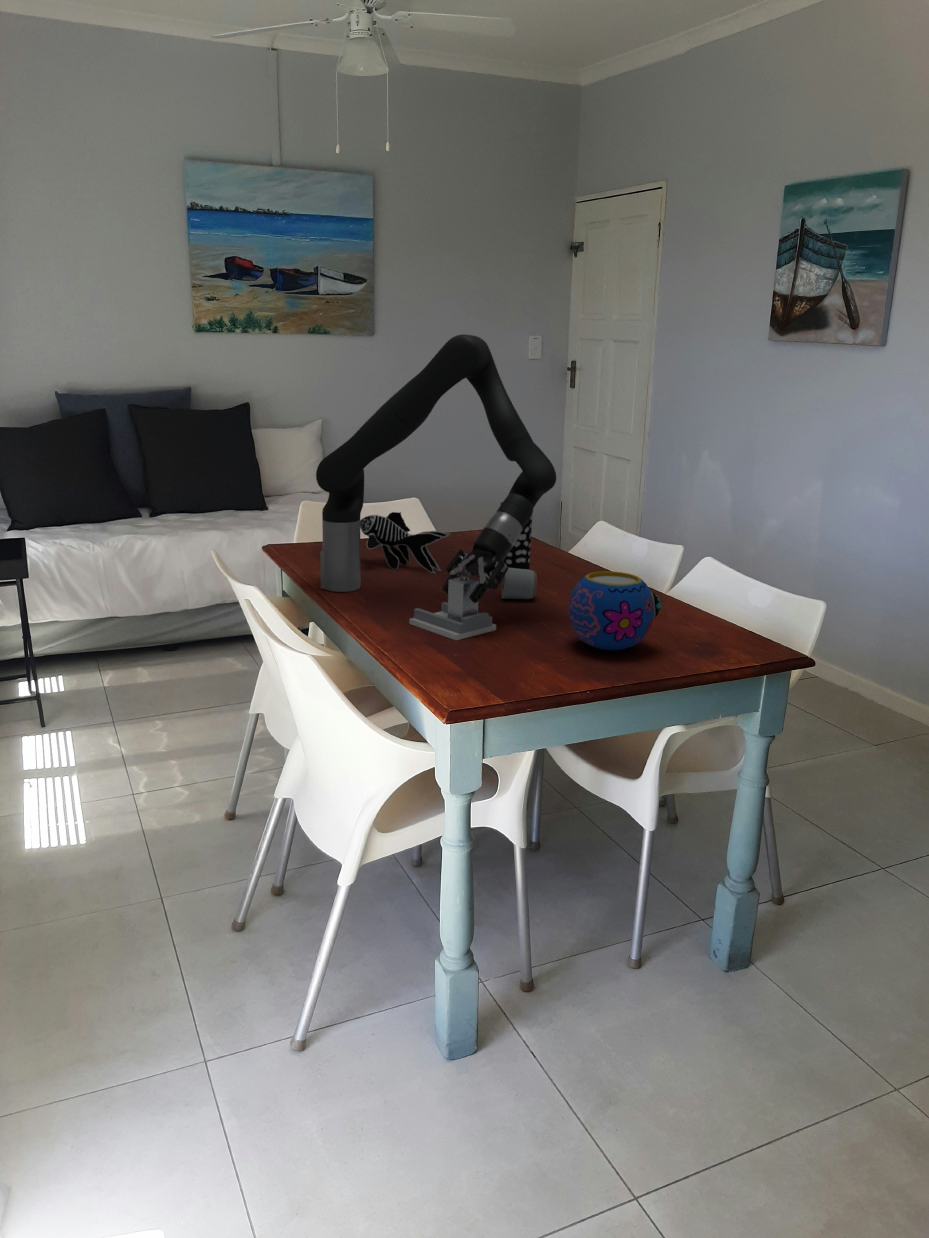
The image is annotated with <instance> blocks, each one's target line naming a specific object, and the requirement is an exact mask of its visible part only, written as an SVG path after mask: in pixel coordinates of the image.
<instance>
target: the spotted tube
mask: <svg viewBox="0 0 929 1238" xmlns="http://www.w3.org/2000/svg"><path fill="white" fill-rule="evenodd" d="M502 503H503V501H502V502H500V505H501V504H502ZM532 528H533V515H532V516H531V517H530V519H529V521H528V522H527V524H526V525H525V527H524V528H523V530H522V531H521V533H520V535H519V537H518V539H517V541H516V542H515V544H514V545H513V547H512V548H511V550H510V551H509V553H508V554H507V556H506V557H505V559H504V560H503V562H504V563H505V564H506V565H507V567H508V568H517V569H527V570H531V568H530V567H531V550H532V549H531V546H532V532H533V531H532Z"/></svg>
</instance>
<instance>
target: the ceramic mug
mask: <svg viewBox="0 0 929 1238" xmlns="http://www.w3.org/2000/svg"><path fill="white" fill-rule="evenodd" d="M537 575H538V574H537V571H534V570H531V569H530V570H527V569H517V568H508V571H507V572H506V574H505V576H504V577H503V579H502V581H501V598H502V599H503V600H532V599H534V598H536V594H537V588H538V587H537V586H538V577H537Z"/></svg>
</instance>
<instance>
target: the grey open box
mask: <svg viewBox="0 0 929 1238" xmlns="http://www.w3.org/2000/svg"><path fill="white" fill-rule="evenodd" d="M440 604H441V606H440V607H441V610H440V611H437V612H434V613H433V612H431V611H428V610H425V609H422V608H419V607H418V608H417V607H416V608H414V609H413V617H412V618H409V620H408V621H409V625H411V626H414V627H417V628H420V629H423V630H426V631H428V632H430V633H433V634H437V635H439V636H442V637H445V638H448V639H451V640H453V641H460V640H462V639H463V640H464V639H467V638H471V637H474V636H479V635H482V634H487V633H489V632H490V633H491V632H494V631H497V624H496V623H493V617H492V616H491V615H489V613H488V612H485V611H484V612H478V614H476V615H472V616H467V617H463V618H461V622H458V621H455V620H452V619H449V618H448V601H447V602H446V601H444V602H441V603H440Z"/></svg>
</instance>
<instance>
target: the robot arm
mask: <svg viewBox="0 0 929 1238" xmlns="http://www.w3.org/2000/svg"><path fill="white" fill-rule="evenodd" d="M496 365H497V364H496V362H495V360H494V358H493V355H492V352H491V349H490V347H489V345H488V343H487V342H486V341H485V340H484V339H483V338H481V336H476V335H473V334H466V333H465V334H464V333H463V334H458V335H455V336H453V337H451V338H449V339H448V340H447V341H446V342H445V343H444V345H442V347H440V349H439V350H438V351H437V353H436V354H435V355H434V356H433V357H432V358H431V360H430V361H429V362H428V363H427V364H426V366H424V368H423V369H422V370H421V371H419V373H418V374H416V375H414V377H413V378H411V379H410V380H409V381H407V383H406V384H404V385H403V386H402V387H401V388H400V389H399V390H398V391H396V392H395V393H394V394H393V395H392V396H390V398H388V400H387V401H386V402H385V403H383V404H382V405H381V406H380V407H379V408H378V409H377V410H376V411H375V412H374V413H373V415H372V416H370V417H369V418H368V419H367V420H366V421H365V422H364V423H363V424H362V425H361V427H359V428H358V430H357V431H356V432H355V433H353V435H352V436H351V437H350V438H348V439H347V441H345V442H344V443H343V444H341V445H340V446H339V447H338V448H336V449H335V450H334V451H333V450H332V452H330V453H329V454H328V455H326V456H324V457H323V459H321V461H320V462H319V464H318V465H317V468H316V473H315V478H316V479H315V480H316V482H317V485H318V486H319V487H320V489H322V490H323V491H324V492H326V493H328V499H327V501H326V503H325V505H324V506H323V507H322V512H321V517H322V518H321V519H322V524H321V525H322V549H321V550H320V551H319V553H320V556H319V557H320V558H319V561H320V563H319V564H320V568H319V569H320V571H319V572H320V573H319V574H320V589H321V590H326V591H328V592H329V591H330V592H337V593H339V592H341V593H344V592H346V593H347V592H354V591H357V590H359V589H360V588H361V582H362V581H361V580H362V579H361V528H360V520H361V515H362V514H361V513H362V510H363V508H364V500H365V499H364V498H365V497H364V496H365V495H364V494H365V468H366V467H367V466H368V465H369V464H370V463H371V462H373V461H374V460H375V459H377V458H379V457H380V456H383V455H384V454H386V453H388V452H389V451H390V450H392V449H393V448H395V447H397V446H398V445H399V444H401V443H402V442H404V441H406V439H407V438H409V437H410V435H412V434H413V433H414V432H415V431H417V429H419V428H420V426H422V424H424V422H425V421H426V420H427V418H428V417H429V415H430V414H431V413H432V410H433V409H434V407H435V406H436V404H437V403H438V401H439V400H440V399H441V398H442V397H443V395H445V394H446V393H447V392H449V391H450V390H451V389H452V388H453V387H454V386H456V385H458V384H459V382H462V381H463V380H464V379H466V380H468V382H469V383H470V385H471V386H472V387H473V389H474V390H475V391H476V393H477V395H478V397H479V399H480V401H481V403H482V406H483V408H484V411H485V415H486V418H487V422H488V425H489V427H490V429H491V431H492V434H493V436H494V438H495V440H496V442H497V444H498V446H499V447H500V449H501V451H502V452H503V454H504V456H505V458H507V460H508V461H509V462H515V463H516V464H517V465H518V467H519V468H520V469H521V473H520V474H519V475H518V477H517V478H516V480H515V481H514V483H513V485H512V486H511V488H510V490H509V492H508V494H507V496H506V497H505V498H504V500H503V501H502V502H503V503H502V504H501V503H500V506H499V507H498V509H497V510H496V511H495V513H494V514H493V515H492V516H491V517H490V518H489V520H488V521H487V523H486V524H485V526H483V529H482V530H481V531H480V533H479V534H478V536H477V537H476V539H475V540H474V542H473V547H472V550H471V551H470V552H469V553H466V552H464V551H463V549H460V550H458V551H457V553H456V554H455V555H454V557H453V558H452V559H451V561H450V562H449V563H448V565H447V566H446V568H445V571H446V573H448V575H449V576H448V578H447V579H446V581H445V582H444V583H443V584H442V587H441V588H442V591H443V592H444V593H445V594H446V595H448V587H449V579H453V578H458V577H463V576H465V577H468V578H469V577H470V576H472V577H473V576H475V577H477V578H479V584H477V586H476V587H475V589H474V590H473V592H472V593H471V595H470V596H469V598H470V600H471V601H472V602H474V603H477V602H478V603H479V601H480V600H481V599H482V597H483V596H484V594H485V593H486V592H487V591H488V590H490V589H492V590H496V589H498V588H499V585H500V584H501V583H502V579H503V577H504V576H505V574H506V572H507V571H508V567H507V565H506V564H505V563H504V562H503V560H504V559H505V557H506V556H507V554H508V553H509V551H510V550H511V548H512V547H513V545H514V544H515V542H516V541H517V539H518V537H519V535H520V533H521V531H522V530H523V528H524V527H525V525H526V524H527V522H528V521H529V519H530V517H531V516H532V517H533V512H534V508H535V506H536V505H537V503H538V502H539V500H540V499H541V498H542V497H543V495H545V494H546V493H547V492H549V491H550V490H551V489H553V488H554V486H555V485H556V483H557V473H556V469H555V467H554V465H553V463H552V461H551V460H550V459H549V457H548V456H547V455H546V454H545V453H544V452H543V451H542V449H541V448H540V447H539V446H538V445H537V444H536V443H535V441H533V439H532V438H533V437H532V436H531V434H530V433H529V431H528V429H527V428H526V425H525V424H524V422H523V420H522V419H521V417H520V415H519V413H518V412H517V410H516V408H515V407H514V404H513V403H512V400H511V398H510V396H509V394H508V391H507V389H506V388H505V385H504V383H503V381H502V378H501V376H500V374H499V371H498V368H497V366H496Z"/></svg>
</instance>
